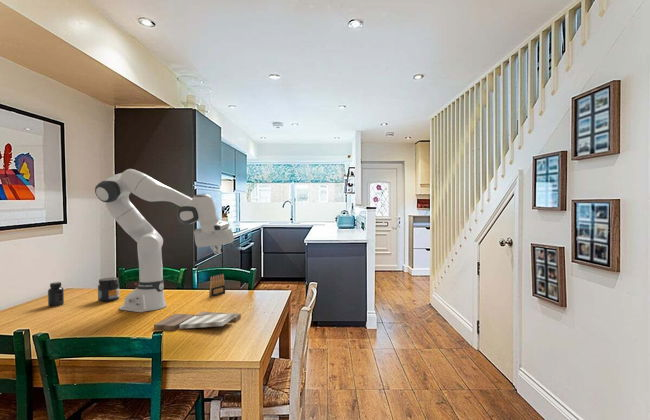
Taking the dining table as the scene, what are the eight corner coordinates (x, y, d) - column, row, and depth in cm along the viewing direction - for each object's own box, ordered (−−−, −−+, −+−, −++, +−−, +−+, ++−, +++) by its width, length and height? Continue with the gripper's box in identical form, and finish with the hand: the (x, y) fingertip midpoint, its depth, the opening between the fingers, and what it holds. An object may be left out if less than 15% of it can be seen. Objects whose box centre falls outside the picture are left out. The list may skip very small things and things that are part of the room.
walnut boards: (153, 329, 158) (153, 324, 158) (181, 314, 178) (181, 310, 178) (220, 333, 152) (220, 328, 152) (240, 317, 173) (240, 313, 173)
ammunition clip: (211, 297, 212) (211, 276, 212) (209, 296, 213) (208, 276, 213) (225, 293, 221) (225, 273, 221) (223, 292, 222) (222, 273, 222)
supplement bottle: (45, 306, 194) (44, 283, 193) (58, 303, 200) (58, 281, 200) (53, 307, 191) (53, 284, 191) (66, 304, 197) (66, 282, 197)
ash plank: (179, 328, 158) (179, 324, 158) (194, 320, 170) (193, 316, 170) (222, 325, 154) (222, 321, 154) (234, 317, 166) (234, 313, 166)
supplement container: (123, 299, 207) (123, 278, 207) (103, 303, 199) (103, 281, 198) (113, 296, 213) (113, 276, 213) (94, 301, 204) (93, 279, 204)
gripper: (188, 231, 177) (196, 257, 179) (224, 225, 170) (232, 253, 172) (197, 227, 183) (204, 253, 185) (231, 222, 176) (238, 249, 178)
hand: (217, 253), depth 179 cm, fingers closed
